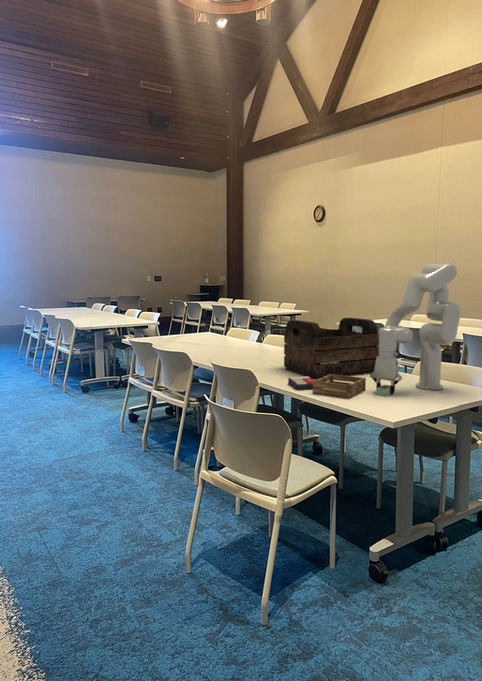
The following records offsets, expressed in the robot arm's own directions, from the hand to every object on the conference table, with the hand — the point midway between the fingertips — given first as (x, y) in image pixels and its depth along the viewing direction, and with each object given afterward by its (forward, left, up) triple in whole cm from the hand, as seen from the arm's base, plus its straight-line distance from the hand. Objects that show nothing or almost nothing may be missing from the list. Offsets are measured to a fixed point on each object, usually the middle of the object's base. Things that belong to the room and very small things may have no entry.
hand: (385, 392), depth 223 cm
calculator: (+8, -39, -1) cm, 40 cm away
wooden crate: (-37, -45, -1) cm, 58 cm away
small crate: (0, 0, 0) cm, 0 cm away
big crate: (+9, -19, 0) cm, 21 cm away
